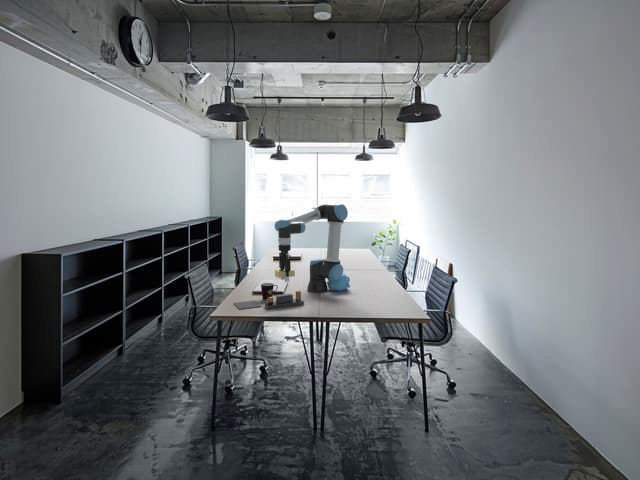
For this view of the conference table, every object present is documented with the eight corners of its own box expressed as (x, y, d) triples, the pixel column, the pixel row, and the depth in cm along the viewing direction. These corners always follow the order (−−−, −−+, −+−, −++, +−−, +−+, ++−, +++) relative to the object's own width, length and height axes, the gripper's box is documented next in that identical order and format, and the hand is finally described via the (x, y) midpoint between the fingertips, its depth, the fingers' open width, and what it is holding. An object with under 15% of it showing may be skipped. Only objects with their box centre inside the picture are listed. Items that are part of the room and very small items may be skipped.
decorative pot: (351, 292, 276) (351, 274, 274) (329, 292, 274) (329, 274, 272) (346, 287, 292) (347, 269, 290) (326, 287, 290) (326, 269, 289)
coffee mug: (261, 300, 251) (261, 286, 250) (260, 297, 259) (260, 283, 258) (278, 299, 253) (278, 285, 252) (277, 296, 262) (277, 282, 261)
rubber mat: (254, 301, 250) (254, 300, 250) (261, 306, 237) (261, 305, 237) (233, 303, 243) (233, 302, 243) (239, 309, 231) (239, 308, 231)
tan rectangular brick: (291, 274, 243) (291, 268, 243) (294, 276, 238) (294, 270, 237) (274, 276, 238) (274, 269, 238) (278, 278, 233) (278, 271, 232)
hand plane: (299, 302, 249) (299, 289, 248) (304, 304, 242) (304, 292, 241) (264, 306, 238) (264, 293, 237) (268, 309, 232) (268, 296, 231)
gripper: (273, 242, 242) (274, 278, 245) (284, 246, 225) (284, 284, 228) (284, 242, 246) (284, 276, 248) (296, 245, 229) (296, 283, 232)
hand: (284, 280), depth 238 cm, fingers closed on tan rectangular brick, 6 cm apart
